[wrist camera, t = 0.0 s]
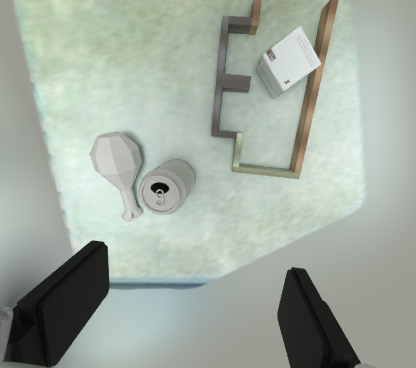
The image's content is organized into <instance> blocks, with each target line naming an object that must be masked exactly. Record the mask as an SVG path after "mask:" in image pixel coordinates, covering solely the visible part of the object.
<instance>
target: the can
mask: <svg viewBox="0 0 416 368" xmlns="http://www.w3.org/2000/svg"><path fill="white" fill-rule="evenodd" d="M194 183H195V175H194V172H193V170H192V168H191V167H190V166H189V165H188V164H187V163H185V162H183V161H181V160H170V161H168V162H166V163H164V164H163V165H161V166H159V167H157V168H156V169H154V170H152V171H150V172H149V173H147V174H146V175H145V176H144V177H143V178H142V181H141V183H140V189H139V195H140V199H141V202H142V203H143V205H144V206H145V207H146V208H147V209H148V210H149V211H151V212H153V213H155V214H161V215H162V214H171V213H174V212H176V211H178V210H179V209H180V208H181V207H182V205H183V204H184V202H185V200H186V198H187V197H188V195H189V193H190V191H191V190H192V188H193V186H194Z"/></svg>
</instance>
